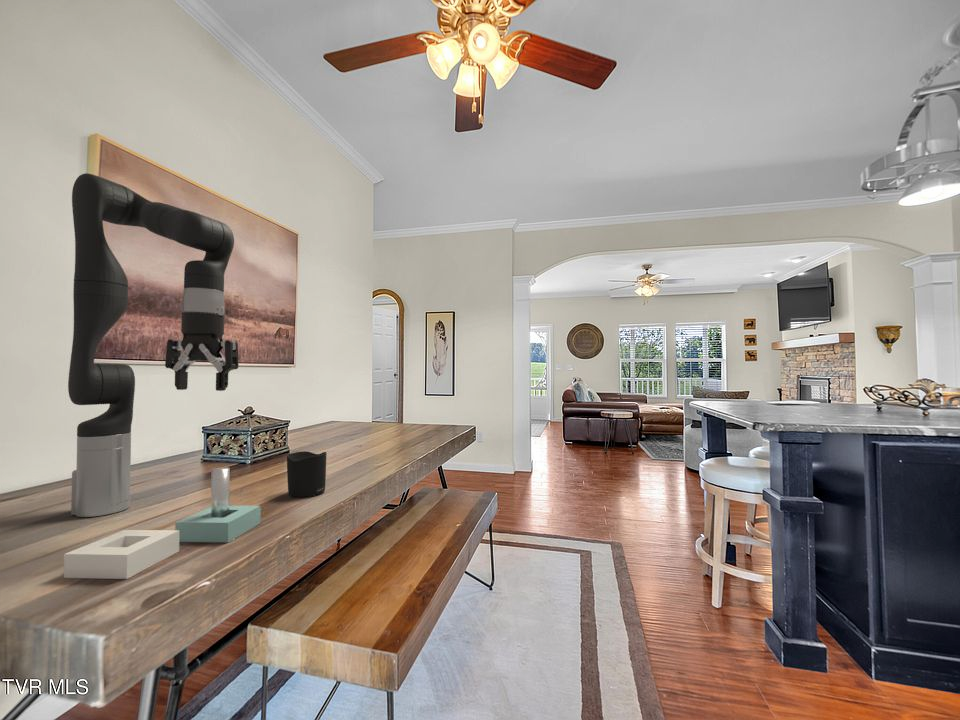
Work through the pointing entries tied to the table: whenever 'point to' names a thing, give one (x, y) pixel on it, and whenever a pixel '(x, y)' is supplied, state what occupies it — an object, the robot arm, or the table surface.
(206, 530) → the block
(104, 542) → the socket block
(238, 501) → the table surface
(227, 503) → the gray rectangular bar
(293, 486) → the pen holder
